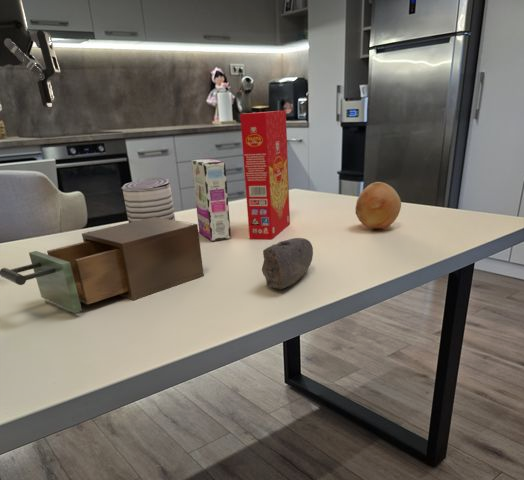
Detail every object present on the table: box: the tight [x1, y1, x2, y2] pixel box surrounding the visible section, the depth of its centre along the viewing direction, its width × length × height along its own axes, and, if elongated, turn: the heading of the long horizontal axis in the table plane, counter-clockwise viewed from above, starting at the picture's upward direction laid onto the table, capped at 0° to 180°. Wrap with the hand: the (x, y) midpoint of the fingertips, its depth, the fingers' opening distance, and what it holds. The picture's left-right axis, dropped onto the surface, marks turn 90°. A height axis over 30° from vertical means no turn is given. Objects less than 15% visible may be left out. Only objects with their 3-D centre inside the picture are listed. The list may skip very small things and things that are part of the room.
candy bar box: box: [190, 158, 232, 242], centre depth 108 cm, size 11×5×16 cm, turn 22°
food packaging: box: [239, 110, 291, 240], centre depth 107 cm, size 15×5×25 cm, turn 162°
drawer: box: [0, 240, 129, 314], centre depth 74 cm, size 19×11×7 cm, turn 136°
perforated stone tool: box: [261, 237, 314, 290], centre depth 78 cm, size 15×5×7 cm, turn 149°
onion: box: [355, 181, 402, 229], centre depth 106 cm, size 10×10×10 cm
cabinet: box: [81, 217, 205, 301], centre depth 82 cm, size 15×13×9 cm
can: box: [121, 177, 176, 223], centre depth 116 cm, size 11×11×12 cm
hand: (22, 109), depth 79 cm, fingers open, 8 cm apart
